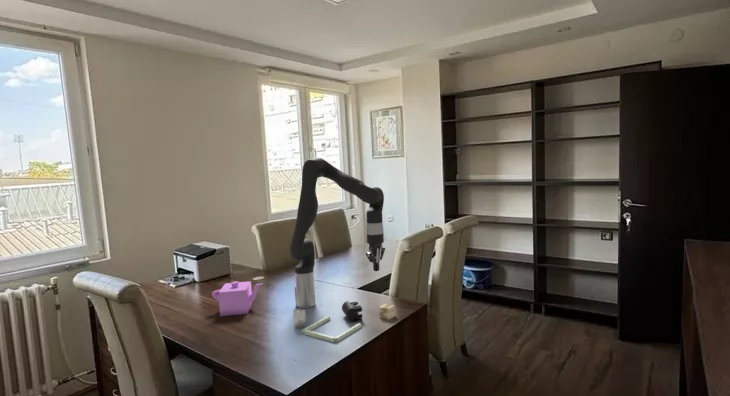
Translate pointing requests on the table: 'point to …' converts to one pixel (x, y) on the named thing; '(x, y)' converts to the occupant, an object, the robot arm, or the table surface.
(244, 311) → the teapot
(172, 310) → the table surface
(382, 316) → the maple block
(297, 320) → the grey metal tin
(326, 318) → the pale green frame
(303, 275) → the robot arm
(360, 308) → the end cap
